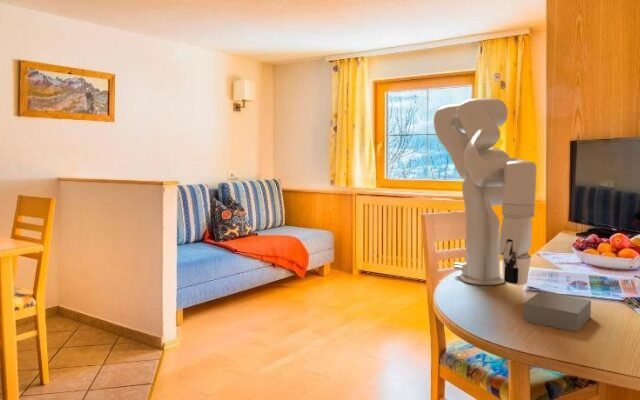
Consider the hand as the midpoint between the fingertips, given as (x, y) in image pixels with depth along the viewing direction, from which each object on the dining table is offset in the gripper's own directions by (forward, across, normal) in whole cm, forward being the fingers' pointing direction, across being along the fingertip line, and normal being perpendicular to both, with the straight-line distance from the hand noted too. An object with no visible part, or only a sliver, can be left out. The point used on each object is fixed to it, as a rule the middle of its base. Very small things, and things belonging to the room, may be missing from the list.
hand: (515, 278), depth 121 cm
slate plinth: (+4, +9, +13) cm, 16 cm away
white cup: (+1, 0, 0) cm, 1 cm away
